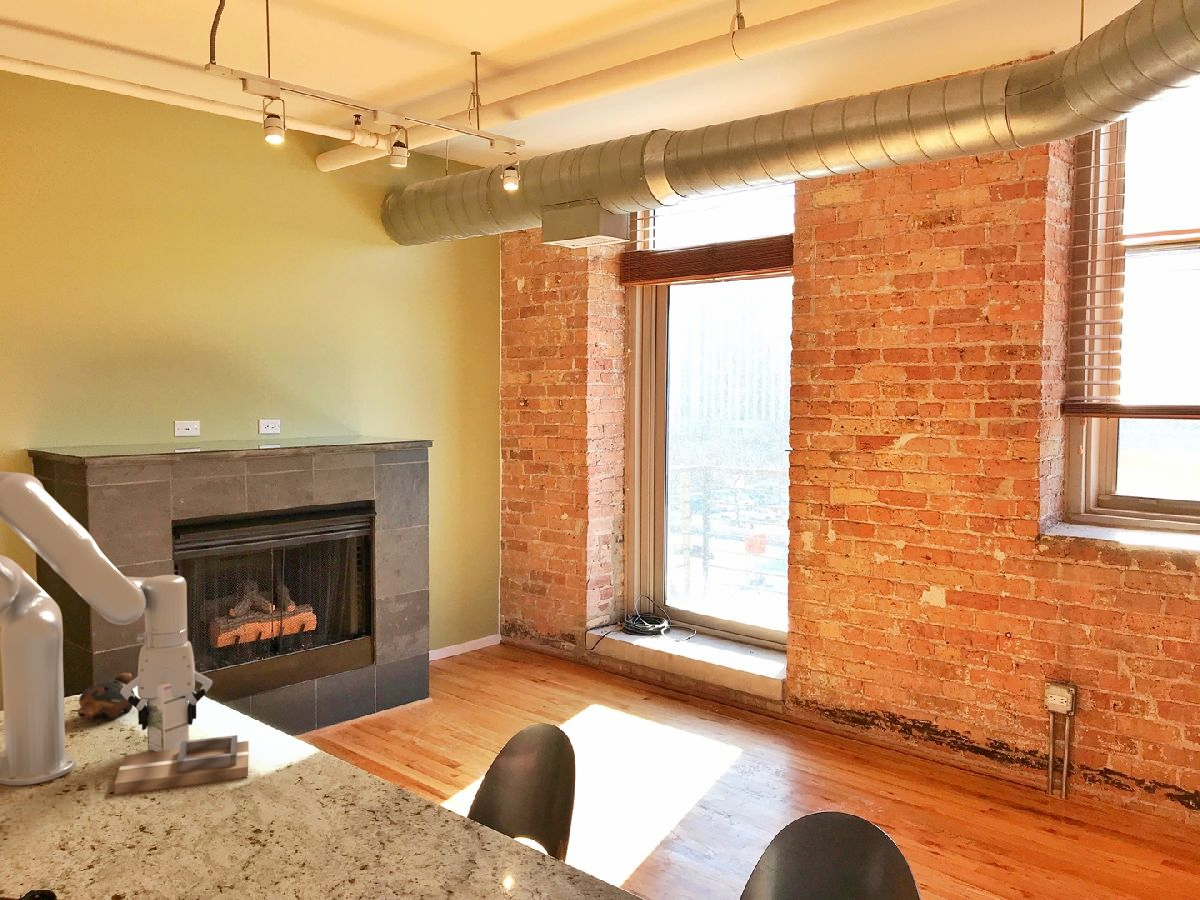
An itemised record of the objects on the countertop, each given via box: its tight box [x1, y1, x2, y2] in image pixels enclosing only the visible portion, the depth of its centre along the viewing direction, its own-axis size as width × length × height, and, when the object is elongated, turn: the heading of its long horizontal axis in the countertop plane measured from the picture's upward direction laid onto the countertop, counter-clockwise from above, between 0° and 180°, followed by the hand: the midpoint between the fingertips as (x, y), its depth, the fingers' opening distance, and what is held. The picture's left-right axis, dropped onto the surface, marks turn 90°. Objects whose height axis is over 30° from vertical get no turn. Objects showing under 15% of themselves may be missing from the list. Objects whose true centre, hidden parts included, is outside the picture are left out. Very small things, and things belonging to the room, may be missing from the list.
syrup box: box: [146, 682, 190, 752], centre depth 179 cm, size 6×6×14 cm
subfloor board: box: [113, 735, 249, 795], centre depth 169 cm, size 22×13×4 cm, turn 111°
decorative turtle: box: [77, 672, 135, 721], centre depth 197 cm, size 10×15×8 cm, turn 175°
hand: (167, 724), depth 179 cm, fingers closed on syrup box, 7 cm apart
